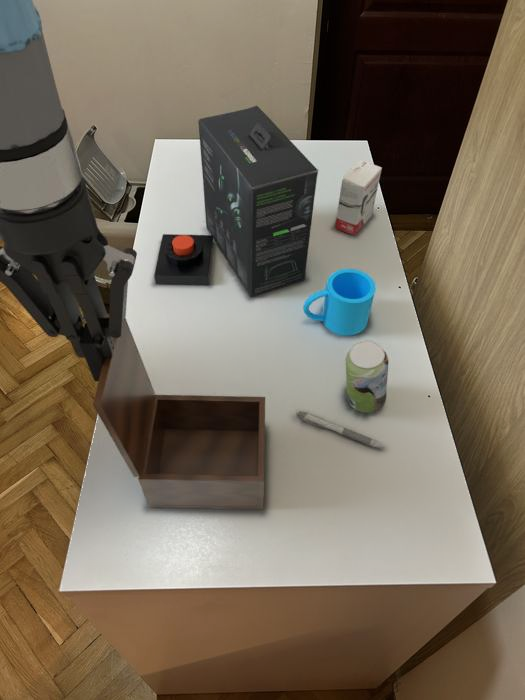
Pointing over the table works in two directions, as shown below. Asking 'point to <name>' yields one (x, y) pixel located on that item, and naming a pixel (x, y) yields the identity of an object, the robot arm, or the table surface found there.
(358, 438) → the pen
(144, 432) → the brown wooden lid
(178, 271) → the button block
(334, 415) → the table surface
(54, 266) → the robot arm
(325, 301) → the mug
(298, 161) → the headset box
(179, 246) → the button
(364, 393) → the beverage can
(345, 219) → the ink box
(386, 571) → the table surface
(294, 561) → the table surface
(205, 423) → the chest
